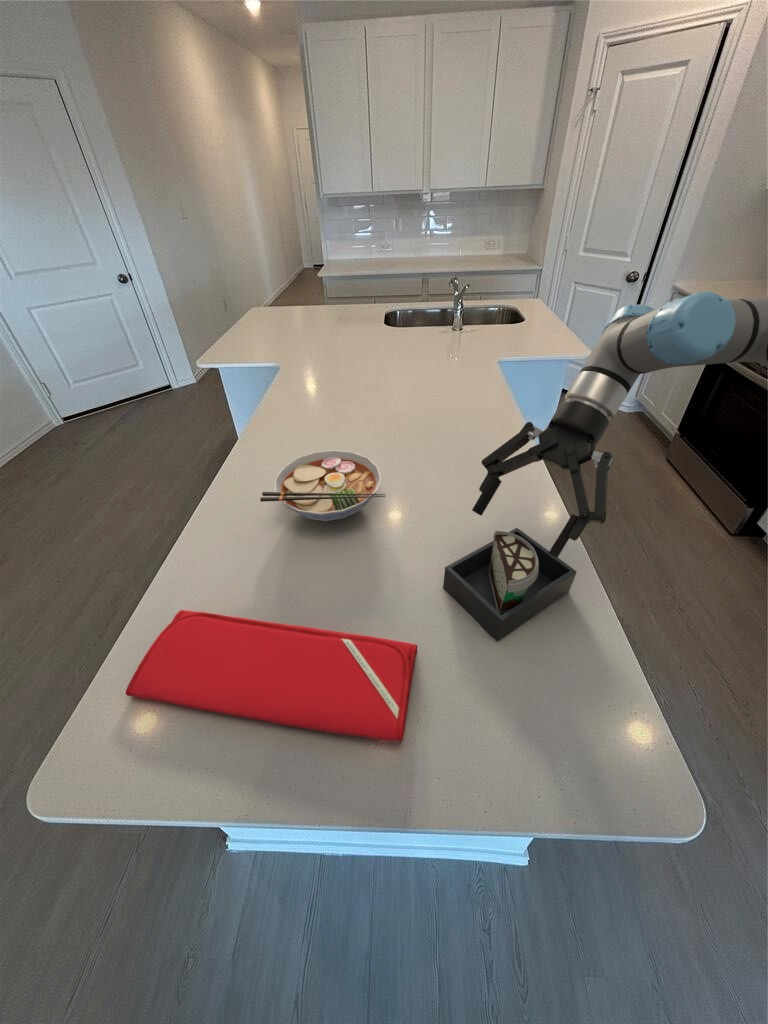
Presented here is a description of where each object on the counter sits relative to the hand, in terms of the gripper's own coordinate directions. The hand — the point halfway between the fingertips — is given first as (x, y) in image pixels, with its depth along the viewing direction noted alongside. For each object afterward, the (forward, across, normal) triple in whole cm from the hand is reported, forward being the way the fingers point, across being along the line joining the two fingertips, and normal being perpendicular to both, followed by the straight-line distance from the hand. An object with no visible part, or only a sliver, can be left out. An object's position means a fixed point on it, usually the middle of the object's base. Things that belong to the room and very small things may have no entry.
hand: (512, 533), depth 67 cm
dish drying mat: (+36, +15, +14) cm, 42 cm away
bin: (+9, 0, -13) cm, 16 cm away
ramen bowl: (+14, +42, -8) cm, 45 cm away
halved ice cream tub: (+9, -1, -12) cm, 15 cm away
